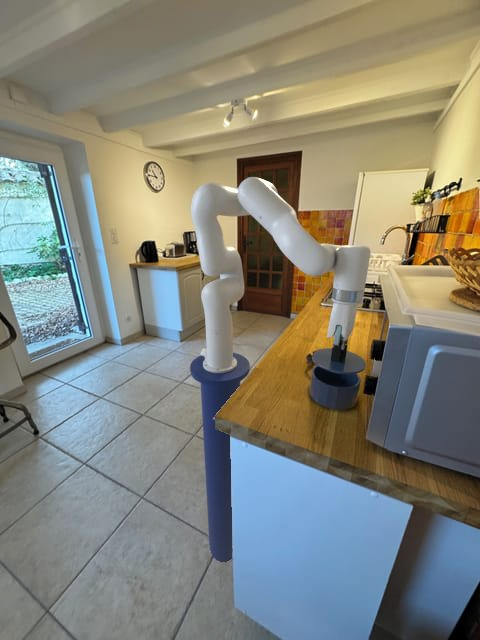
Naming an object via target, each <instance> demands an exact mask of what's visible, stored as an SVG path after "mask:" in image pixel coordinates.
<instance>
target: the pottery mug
mask: <svg viewBox="0 0 480 640" xmlns="http://www.w3.org/2000/svg"><path fill="white" fill-rule="evenodd" d="M320 349H321V348H320ZM320 349H316V350H314V351H312V353H308V354H307V355H306V356H305V359H306V361H305V362H306V364H307V365H309V366H311V367H313V366H314V364H315V363H314V362H313V360H312V355H313V353H314V352H315V351H317V350H320Z"/></svg>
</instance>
